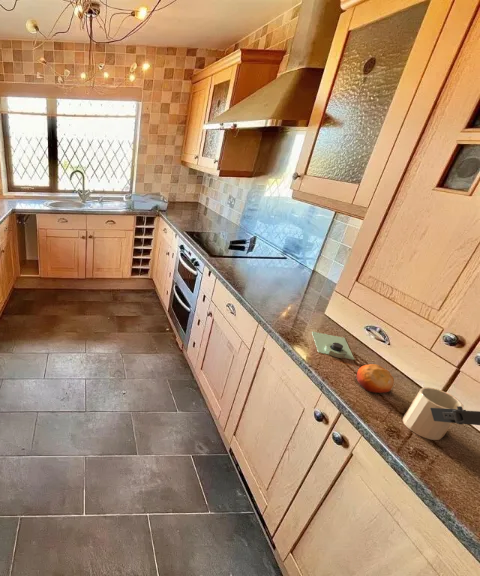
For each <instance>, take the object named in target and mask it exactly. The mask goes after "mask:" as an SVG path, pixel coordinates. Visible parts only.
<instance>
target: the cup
mask: <svg viewBox="0 0 480 576" xmlns="http://www.w3.org/2000/svg"><path fill="white" fill-rule="evenodd" d="M457 406H461V407H462V409H463V410H464V404H463V403H462V402H461V400H460V399H458V398H457V397H455V396H454V395H452V394H450V393H448V392H446V391H444V390H441V389H439V388H435V387H430V386H429V387H427V386H425V387H422V388H420V389H419V390H418V393H417V394H416V395H415V397H414V399H413V400H412V402H411V404H410V405H409V407H408V408H407V410H406V412H405V413H404V415H403V417H402V422H403V424H404V426H405V427H406V428H407V429H409V430H410V431H411V432H413V433H414V434H416V435H417V436H420V437H421V438H424V439H428V440H432V441H439V440H442V438H443V437H444V436H445V435H446V433H447V432H448V431H449V430H450V428H451V427H452V426H453V424H454V423H450V422H440V421H434V419H433V416H432V412H431V409H430V408H443V409H458V408H457Z"/></svg>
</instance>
